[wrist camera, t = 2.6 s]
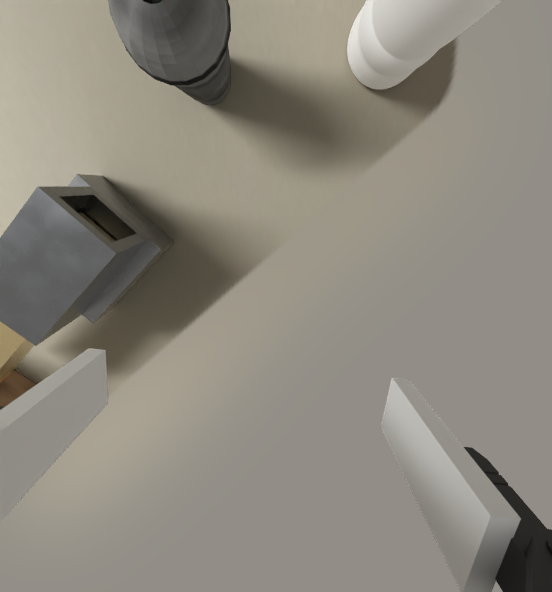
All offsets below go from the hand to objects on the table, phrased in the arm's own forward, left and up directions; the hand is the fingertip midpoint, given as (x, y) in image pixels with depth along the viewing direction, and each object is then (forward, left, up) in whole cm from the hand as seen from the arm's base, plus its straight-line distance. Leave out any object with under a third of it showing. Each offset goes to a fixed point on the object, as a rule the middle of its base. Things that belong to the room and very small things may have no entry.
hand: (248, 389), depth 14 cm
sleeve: (-14, -12, -24) cm, 30 cm away
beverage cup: (-17, +9, -24) cm, 31 cm away
